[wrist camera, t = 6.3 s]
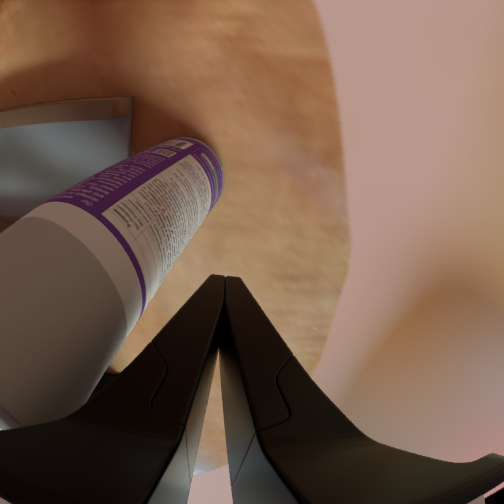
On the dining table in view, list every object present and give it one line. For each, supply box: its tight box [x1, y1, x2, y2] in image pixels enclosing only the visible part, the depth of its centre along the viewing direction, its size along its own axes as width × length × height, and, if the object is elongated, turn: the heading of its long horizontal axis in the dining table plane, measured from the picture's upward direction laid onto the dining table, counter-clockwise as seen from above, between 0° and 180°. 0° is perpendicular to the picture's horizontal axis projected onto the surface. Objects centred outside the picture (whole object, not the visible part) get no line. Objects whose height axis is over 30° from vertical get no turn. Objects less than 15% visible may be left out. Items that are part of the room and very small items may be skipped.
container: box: [0, 137, 224, 430], centre depth 10 cm, size 5×5×15 cm
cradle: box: [0, 97, 133, 233], centre depth 14 cm, size 9×16×3 cm, turn 82°
